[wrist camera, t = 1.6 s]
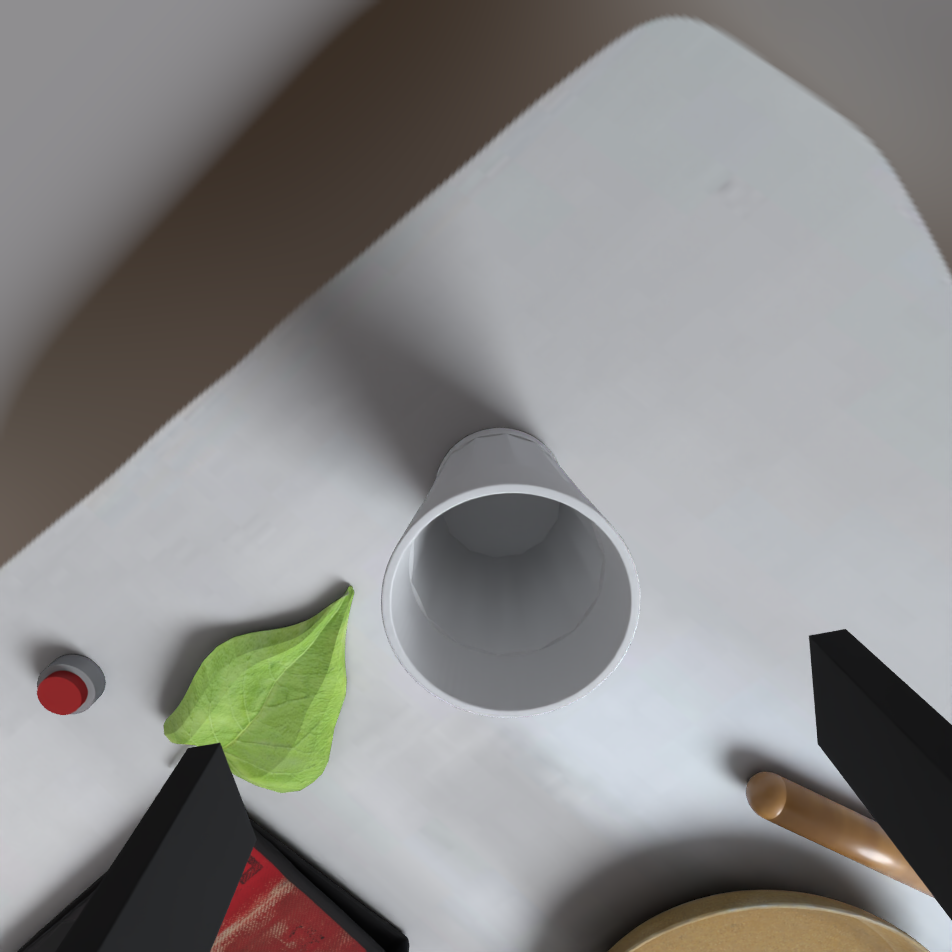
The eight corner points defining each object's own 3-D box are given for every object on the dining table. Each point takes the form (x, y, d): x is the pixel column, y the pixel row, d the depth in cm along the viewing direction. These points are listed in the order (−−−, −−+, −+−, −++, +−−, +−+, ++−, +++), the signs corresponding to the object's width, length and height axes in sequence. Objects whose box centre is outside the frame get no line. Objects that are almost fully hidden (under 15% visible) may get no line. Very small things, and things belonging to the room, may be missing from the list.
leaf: (124, 733, 35) (103, 758, 33) (313, 551, 32) (302, 567, 30) (246, 827, 37) (232, 856, 35) (436, 662, 34) (434, 684, 32)
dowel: (730, 786, 36) (747, 820, 33) (755, 755, 35) (774, 787, 33) (934, 882, 37) (964, 921, 35) (960, 854, 37) (992, 891, 35)
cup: (384, 484, 31) (327, 596, 19) (508, 375, 29) (526, 427, 18) (491, 595, 33) (497, 761, 21) (614, 498, 31) (693, 618, 20)
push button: (70, 644, 34) (52, 659, 32) (116, 679, 34) (100, 696, 33) (37, 678, 34) (18, 695, 33) (83, 713, 35) (66, 731, 33)
